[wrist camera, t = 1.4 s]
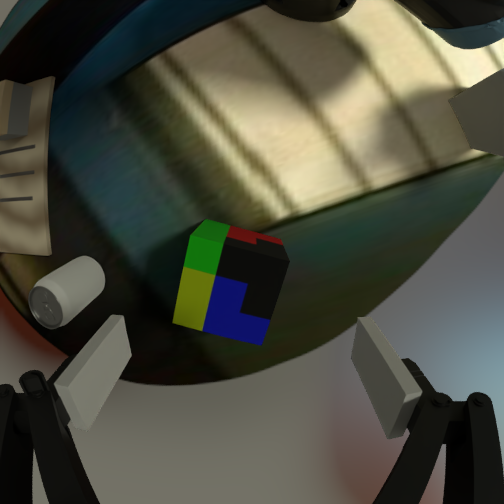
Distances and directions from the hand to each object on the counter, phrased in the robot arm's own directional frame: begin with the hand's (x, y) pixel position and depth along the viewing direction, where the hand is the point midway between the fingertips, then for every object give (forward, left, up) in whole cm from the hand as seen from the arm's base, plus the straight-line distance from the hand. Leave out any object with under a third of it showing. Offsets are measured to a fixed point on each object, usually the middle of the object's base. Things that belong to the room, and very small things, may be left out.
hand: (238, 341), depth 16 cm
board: (-11, -38, -24) cm, 46 cm away
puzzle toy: (+3, -2, -25) cm, 25 cm away
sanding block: (-20, -38, -23) cm, 48 cm away
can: (+6, -24, -25) cm, 35 cm away
